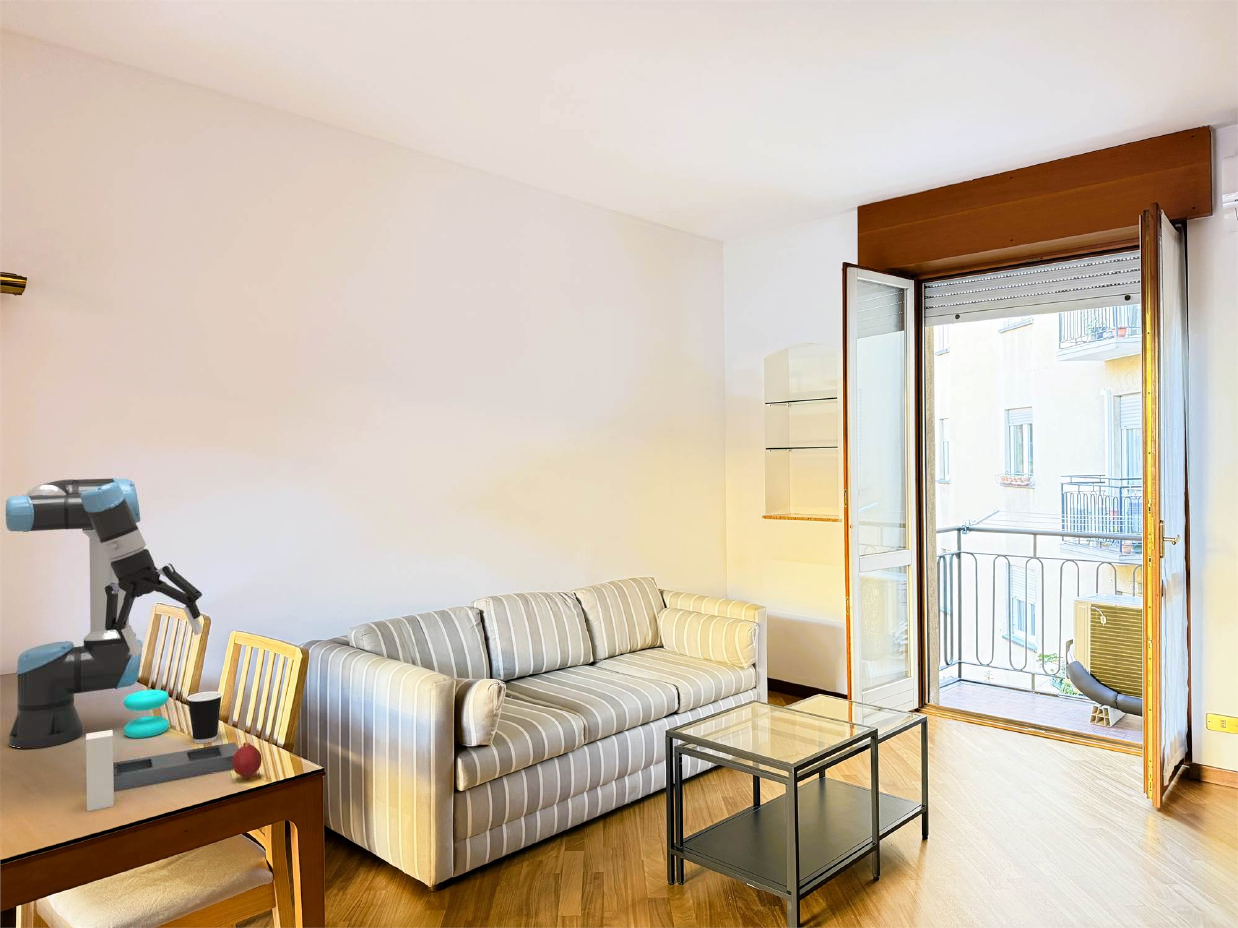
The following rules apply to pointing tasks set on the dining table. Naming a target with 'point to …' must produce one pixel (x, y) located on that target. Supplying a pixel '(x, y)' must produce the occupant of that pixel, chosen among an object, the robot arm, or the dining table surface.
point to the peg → (99, 770)
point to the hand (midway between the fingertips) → (168, 643)
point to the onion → (246, 760)
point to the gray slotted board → (173, 766)
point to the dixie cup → (204, 715)
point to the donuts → (149, 723)
